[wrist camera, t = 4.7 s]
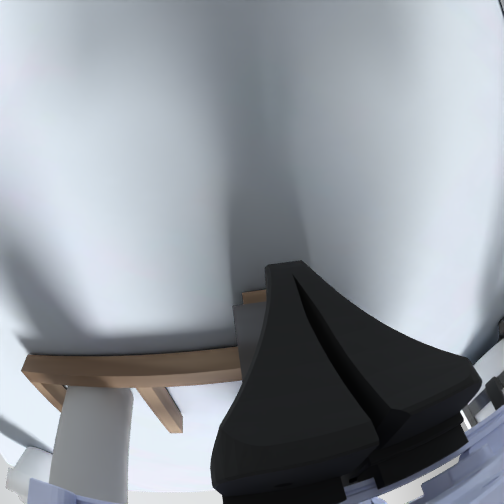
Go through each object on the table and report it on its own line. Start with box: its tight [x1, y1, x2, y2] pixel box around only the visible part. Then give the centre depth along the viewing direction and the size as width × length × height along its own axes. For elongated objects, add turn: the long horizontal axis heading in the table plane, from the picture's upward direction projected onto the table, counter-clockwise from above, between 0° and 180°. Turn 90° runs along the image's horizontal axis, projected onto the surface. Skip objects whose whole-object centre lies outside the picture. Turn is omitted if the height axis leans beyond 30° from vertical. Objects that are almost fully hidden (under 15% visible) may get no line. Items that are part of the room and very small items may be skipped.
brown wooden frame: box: [21, 289, 267, 433], centre depth 14 cm, size 12×19×6 cm, turn 94°
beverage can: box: [49, 386, 134, 504], centre depth 11 cm, size 5×5×12 cm
